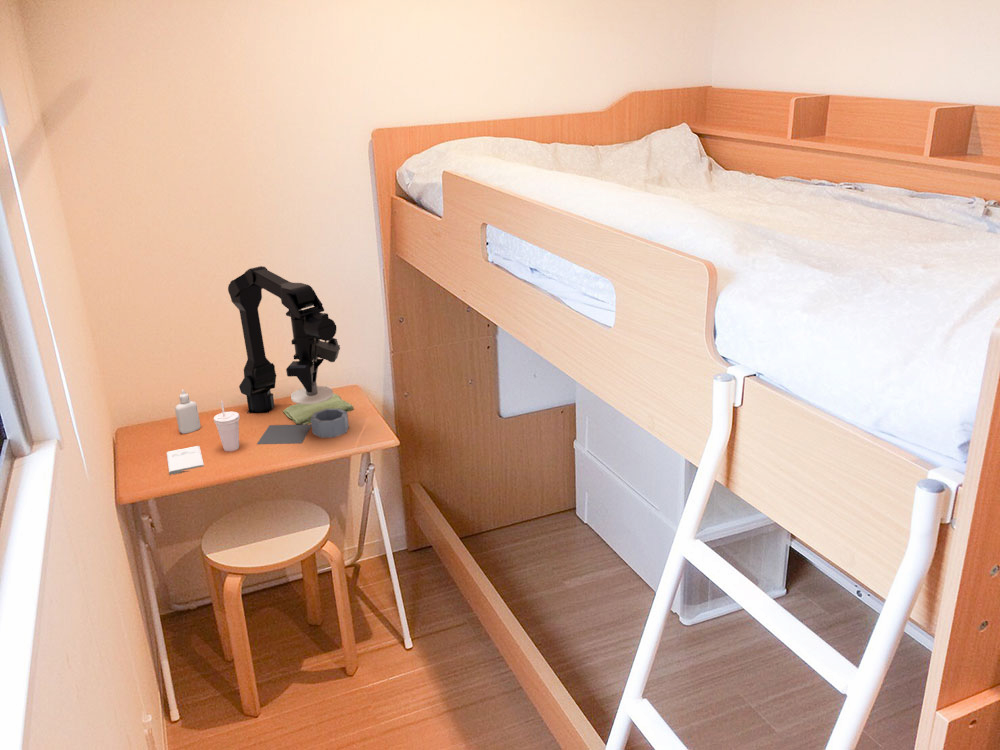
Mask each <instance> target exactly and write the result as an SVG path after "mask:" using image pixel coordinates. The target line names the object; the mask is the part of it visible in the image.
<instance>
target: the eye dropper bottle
mask: <svg viewBox="0 0 1000 750" xmlns="http://www.w3.org/2000/svg"><path fill="white" fill-rule="evenodd" d="M179 402H180V403H178V404H177V405H176V406H175V407H174V409H175V416H176V422H177V426H178V427H177V428H178V432H179V433H181V434H182V435H183V434H189V433H194V432H196V431H198V430H199V429H200V428H201V427H202V426H201V422H200V415H199V410H198V405H197V403H196V402H195V401H194V400H193V401H192V400H191V399H190V396H189V393H186V391H185V389H182V390H181V392H180V394H179Z"/></svg>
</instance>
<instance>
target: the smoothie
mask: <svg viewBox="0 0 1000 750" xmlns="http://www.w3.org/2000/svg"><path fill="white" fill-rule="evenodd" d="M220 405H221V412H220V413H218V414H216V415H214V417H213V423H214V424H215V426H216V428H217V432H218V436H219V438H220V441H221V444H222V447H223V450H224V452H233V451H234V452H235V451H237V450H238V449H239V448H240V430H239V429H240V427H239V426H240V424H239V420H240V419H241V418H240V413H238V412H236V411H225V406H224V401H223V400H220Z"/></svg>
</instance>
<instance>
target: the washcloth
mask: <svg viewBox="0 0 1000 750" xmlns="http://www.w3.org/2000/svg"><path fill="white" fill-rule="evenodd" d="M324 409H341V410H343V411H346V412H347V413H348V412H351V411H354V406H353V405H352V403H349V402H347V401H346V400H343V399H342V397H341V396H340V395H338V394H337V393H335V392H333V396H332V397H331V398H330V399H328V400H326V401H324V402H320V403H316V404H297V403H295V404H291V405H289V406H288V407H286V408H285V409H284V410H283V411H282V413H284V414H285V415H286V417H287V418H289V419H291V421H293V423H295V425H305V424H311V417H312V416H313V414H314V413H315V412H318V411H321V410H324Z"/></svg>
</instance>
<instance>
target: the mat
mask: <svg viewBox="0 0 1000 750" xmlns="http://www.w3.org/2000/svg"><path fill="white" fill-rule="evenodd" d="M310 429H312V425H311V423H309V424H305V425H303V424H270V425H269V426H268V427H267V428H266V430H265V431H264V432H263V434H262V436H261V437H260V438H259V440H258V441H257V443H256V445H291V444H293V445H294V444H295V445H296V444H301V445H302V444H303V443H304V440H305V438H306V437H307V435H308V433H309V431H310Z"/></svg>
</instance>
